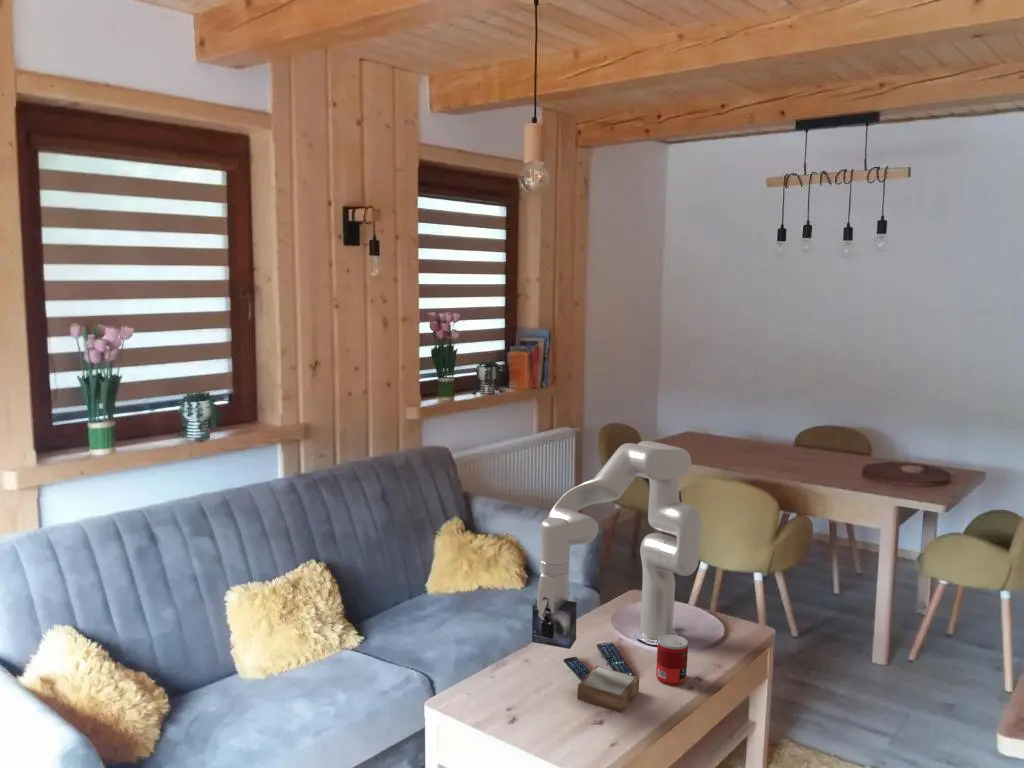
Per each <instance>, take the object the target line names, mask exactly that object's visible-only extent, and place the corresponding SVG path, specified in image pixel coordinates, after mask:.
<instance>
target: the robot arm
mask: <svg viewBox="0 0 1024 768" xmlns="http://www.w3.org/2000/svg"><path fill="white" fill-rule="evenodd" d="M691 465H692V458H691V455H690V453H689V452H688V451H687V450H686V449H684V448H682V447H677V446H675V445H670V444H665V443H662V442H661V443H660V442H656V441H650V440H644V441H643V440H642V441H639V442H638V443H632V442H627V443H623V444H622V445H620V446H619V447H618V448H617V449H616V450H615V452H614V453H613V454H612V456H611V457H610V458H609V459H608V461H606V463H605V464H604V465H603V467H602V468H601V469H600V470H599V471H598V473H597V474H596V475H595V476H594V478H592V479H590V480H589V479H588V480H587V481H586V480H585V481H584V482H582V483H580V484H579V485H575V486H574V487H573V488H570V489H569V490H567V491H565V493H564V494H562V496H561V497H560V498H559V499H558V500H557V502H556V503H555V504H554V505H553V507H552V509H551V510H550V511H549V513H548V515H547V518H545V519H544V520H542V522H541V523H540V547H539V548H540V552H539V553H540V554H539V555H540V559H539V561H540V563H539V567H540V570H539V572H540V574H539V581H538V588H537V599H538V600H537V599H536V600H537V609H538V611H539V613H538V616H539V617H540V620H541V623H542V636H543V637H546V638H550V639H552V638H553V637H554V624H553V623H552V622H553V617H554V613H556V612H557V609H558V608H559V607H560V606H561V605H563V604H564V603H565V602H566V601H570V594H571V592H570V576H569V575H570V563H571V562H570V561H571V560H570V558H571V556H570V554H571V553H570V551H571V546H580V545H586V544H590V543H591V542H593V541H594V540H595V539H596V537H597V536H598V533H599V524H598V522H597V520H595V518H593V517H592V516H590V515H587V514H585V513H581V512H579V511H580V510H581V509H583V508H586V507H588V506H591V505H596V504H602V503H609V502H613V501H617V500H619V499H620V497H621V496H623V493H625V491H626V490H627V488H629V486H630V485H631V484H632V482H633V481H634V480H635V478H636V477H639V478H640V477H641V478H645V479H648V481H649V482H648V483H649V494H648V495H649V496H648V511H647V516H648V517H647V521H648V524H649V526H650V527H651V528H653V529H655V530H657V531H659V532H662V533H659V532H652V533H649V534H646V536H644V538H643V539H642V540H641V542H640V549H639V551H640V559H641V567H642V568H641V569H642V586H641V607H640V626H638V627H637V628H640V629H639V630H640V634H641V635H642V636H644V637H645V638H647V639H650V640H657V642H656V643H658V638H659V637H660V636H662V635H668V634H671V635H678V633H677V632H676V631H675V630H673V629H674V612H675V611H674V610H675V592H676V579H675V575H679V576H682V577H683V576H685V577H689V576H690V575H692V574H693V573H695V571H696V570H697V568H698V565H699V563H700V562H699V560H700V556H701V555H700V554H701V542H702V541H701V539H702V531H703V529H702V528H703V522H702V521H703V520H702V516H701V513H700V511H699V510H698V509H697V508H696V507H695V506H693V505H690V504H686V503H683V502H681V501H680V481H679V479H681V478H684V476H686V475H687V474H688V472H690V470H691V467H692V466H691ZM663 533H666V534H669V535H666V534H663ZM670 535H673V536H670ZM674 536H675V537H676V538H675V537H674ZM674 574H675V575H674ZM547 608H549V609H550V610H551V612H550V611H546V610H547ZM546 613H548V614H550V618H548V617H547V616H546ZM642 640H644V639H642ZM644 641H646V642H651V643H655V642H654V641H649V640H644Z"/></svg>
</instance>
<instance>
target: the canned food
mask: <svg viewBox="0 0 1024 768" xmlns="http://www.w3.org/2000/svg"><path fill="white" fill-rule="evenodd" d="M656 647H657V649H656V669H655V671H656V673H655V674H656V675H655V676H656V679H657V680H658V681H659V682H660V683H661V684H664V685H667V686H675V687H676V686H681V685H683V684H684V683H685V682H686V680H687V673H688V672H687V667H688V654H689V653H688V651H689V641H688V640H687V639H686V638H685V637H683V636H681V635H678V634H677V635H671V634H668V635H662V636H660V637H659V638H658V645H657V646H656Z"/></svg>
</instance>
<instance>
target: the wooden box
mask: <svg viewBox="0 0 1024 768" xmlns="http://www.w3.org/2000/svg"><path fill="white" fill-rule="evenodd" d="M639 690H640V676H639V677H638V676H637V675H636V676H635V675H632V674H628V673H626V672H625V673H624V672H621V671H617V670H612V669H610V668H606V667H602V666H599V665H596V666H595V667H594V668H592V670H591V671H590V672H589V673H587V675H586V676H585V677H584V678H583V679H582V680H581V681H580V682H579V683H578V684H577V694H576V695H577V697H576V698H577V699H578V700H577V701H579V700H581V701H580V702H583V701H584V702H583V703H586V702H587V704H589V703H590V705H593V706H597V707H599V706H600V707H599V708H603V709H607V710H610V711H613V712H617V713H619V714H620V713H621V714H622V713H623V712H624V711H625V709H626V708H627V707H628V706H629V704H631V702H632V701H633V700H634V699H635V697H636V696H637V695H638V693H639Z"/></svg>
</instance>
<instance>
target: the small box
mask: <svg viewBox="0 0 1024 768" xmlns="http://www.w3.org/2000/svg"><path fill="white" fill-rule="evenodd" d="M537 600H538V598H536V600H535V602H534V603H533V604H532V606H531V607H532V608H531V609H532V610H531V611H532V620H531V621H532V622H531V623H532V624H531V626H532V627H531V629H532V630H531V634H532V635H531V636H532V637H531V642H532V643H535V644H542V645H545V646H546V645H547V646H552V647H558V648H562V649H568V650H570V649H571V648H572V647H573V645H574V644H575V642H576V641H577V606H578V602H577V601H574V600H573V601H571V600H568V601H566V602H565V603H564V604H563V605H561V606H560V607H559V608H558V609H557V612H556V613H554V617H553V622H552V623H553V624H554V637H553V638H552V639H550V638H546V637H543V636H542V623H541V620H540V617H539V616H538V613H539V611H538V609H537ZM546 611H550V612H551V610H550V609H549V608H547V610H546ZM546 616H547V617H548V618H550V614H548V613H546Z"/></svg>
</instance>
